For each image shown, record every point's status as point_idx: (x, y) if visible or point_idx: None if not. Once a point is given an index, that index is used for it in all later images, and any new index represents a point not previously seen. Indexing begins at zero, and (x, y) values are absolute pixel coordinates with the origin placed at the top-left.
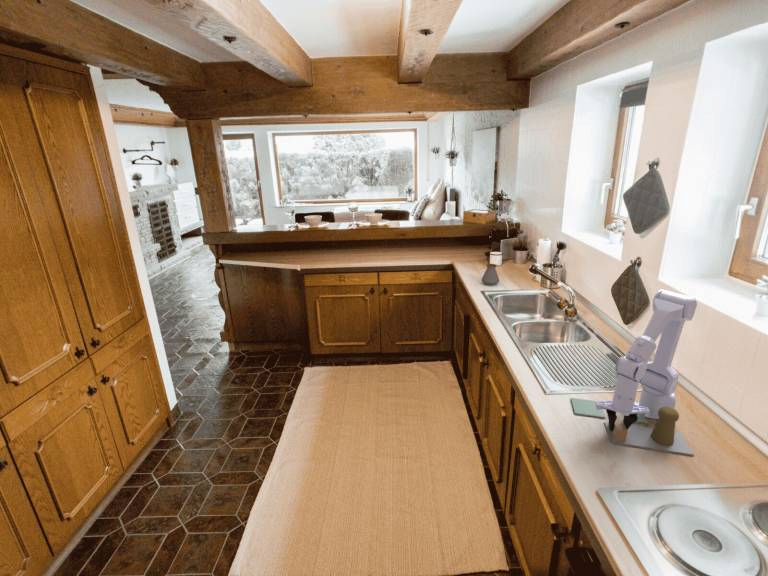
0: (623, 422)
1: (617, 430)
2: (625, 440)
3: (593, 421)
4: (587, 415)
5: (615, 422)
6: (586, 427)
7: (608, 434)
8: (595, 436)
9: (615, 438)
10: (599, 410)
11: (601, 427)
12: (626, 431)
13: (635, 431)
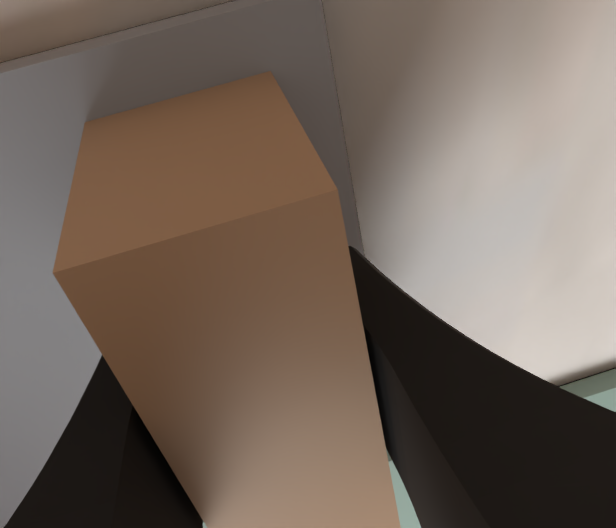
0: (195, 493)
1: (314, 185)
2: (85, 134)
3: (493, 351)
4: None
5: (347, 418)
6: (608, 205)
7: (350, 200)
8: (540, 59)
9: (270, 89)
10: (416, 516)
11: (419, 300)
12: (84, 256)
13: (2, 436)
